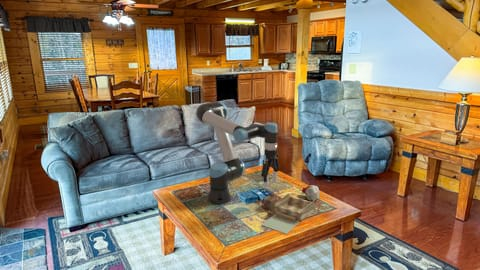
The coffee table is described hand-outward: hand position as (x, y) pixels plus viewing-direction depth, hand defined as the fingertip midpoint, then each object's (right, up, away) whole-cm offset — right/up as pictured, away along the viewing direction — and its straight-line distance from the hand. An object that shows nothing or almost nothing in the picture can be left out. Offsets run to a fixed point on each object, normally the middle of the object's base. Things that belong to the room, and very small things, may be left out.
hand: (270, 183), depth 198 cm
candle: (+28, -12, +16) cm, 35 cm away
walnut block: (0, -15, +4) cm, 16 cm away
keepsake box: (+14, -16, -2) cm, 22 cm away
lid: (+4, -21, -15) cm, 26 cm away
